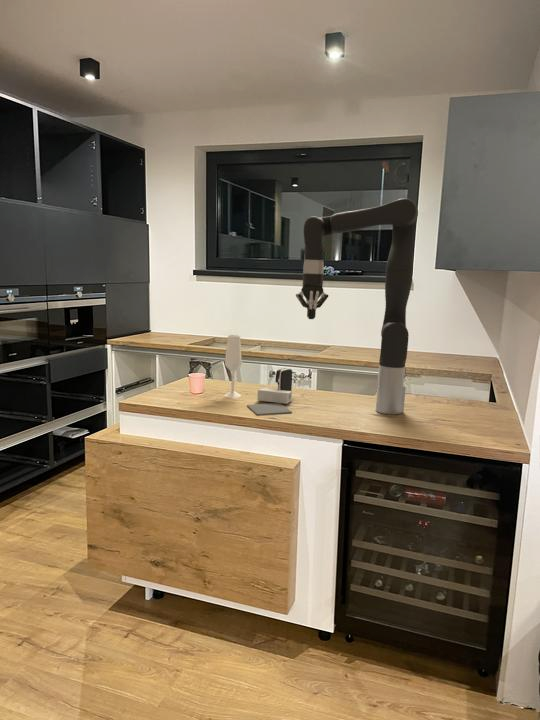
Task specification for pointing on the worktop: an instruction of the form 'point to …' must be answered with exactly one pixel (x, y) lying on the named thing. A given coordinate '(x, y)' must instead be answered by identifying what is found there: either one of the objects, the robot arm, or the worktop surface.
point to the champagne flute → (233, 360)
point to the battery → (284, 379)
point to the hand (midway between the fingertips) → (311, 318)
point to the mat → (269, 409)
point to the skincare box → (274, 395)
